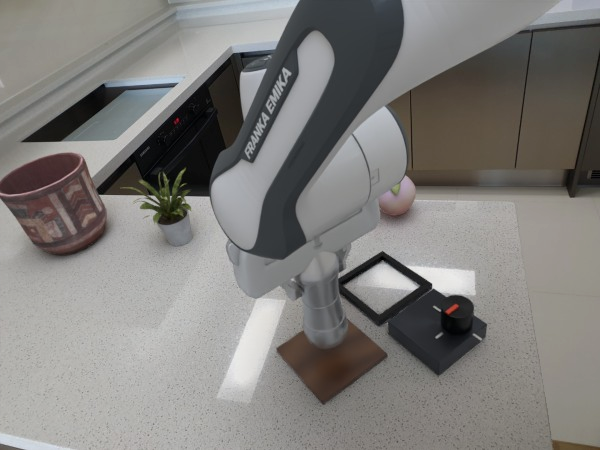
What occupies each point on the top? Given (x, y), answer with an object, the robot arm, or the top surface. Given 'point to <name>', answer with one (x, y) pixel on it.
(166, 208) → the house plant
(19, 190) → the pottery
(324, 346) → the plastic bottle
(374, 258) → the black flat square frame
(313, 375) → the trivet
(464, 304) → the knob
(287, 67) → the robot arm
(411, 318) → the panel
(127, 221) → the top surface
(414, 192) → the decorative fruit
